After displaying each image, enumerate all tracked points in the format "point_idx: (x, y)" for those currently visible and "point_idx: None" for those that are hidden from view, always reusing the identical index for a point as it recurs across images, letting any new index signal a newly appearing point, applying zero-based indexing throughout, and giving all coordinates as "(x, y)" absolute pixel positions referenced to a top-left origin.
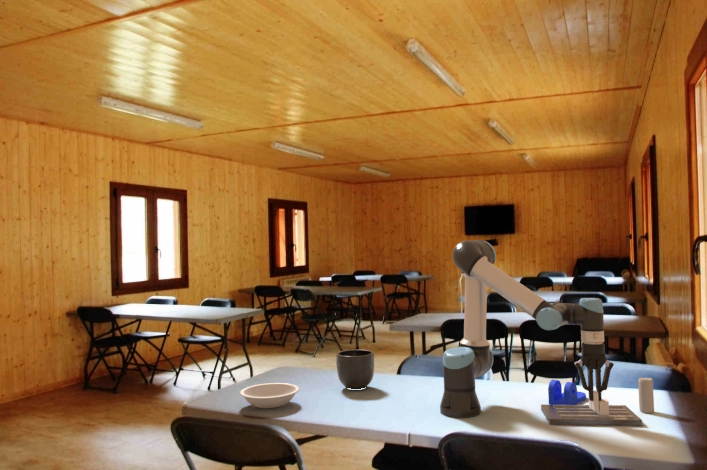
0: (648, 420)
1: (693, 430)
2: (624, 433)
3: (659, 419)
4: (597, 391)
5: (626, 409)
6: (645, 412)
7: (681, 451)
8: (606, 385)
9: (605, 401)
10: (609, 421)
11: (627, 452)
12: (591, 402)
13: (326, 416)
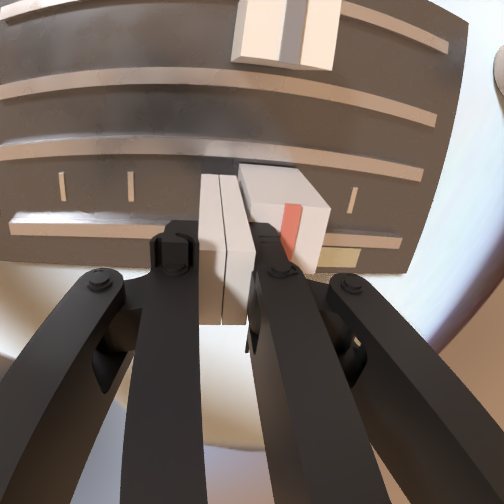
0: (459, 184)
1: (485, 289)
2: None
3: (493, 177)
4: (247, 308)
5: (445, 92)
6: (499, 89)
7: None
8: (354, 373)
9: None
10: None
11: (215, 433)
12: (238, 60)
13: None
